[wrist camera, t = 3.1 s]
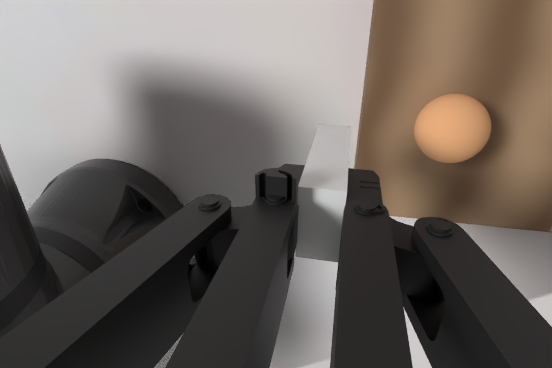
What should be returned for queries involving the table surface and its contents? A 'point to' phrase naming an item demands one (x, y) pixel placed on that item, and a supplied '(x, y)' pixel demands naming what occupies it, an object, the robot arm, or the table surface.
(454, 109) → the ball
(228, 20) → the table surface
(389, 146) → the wooden board
